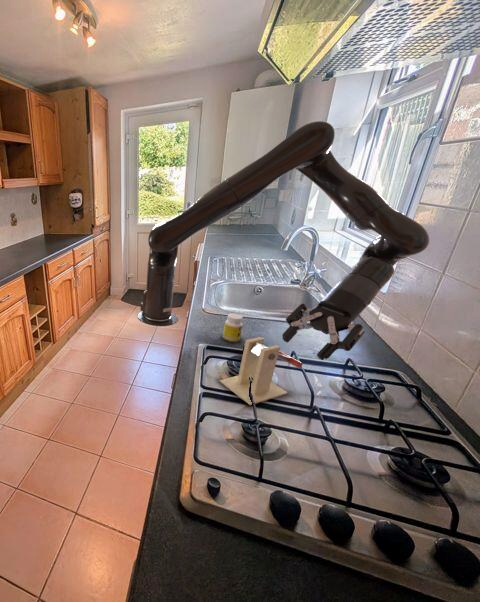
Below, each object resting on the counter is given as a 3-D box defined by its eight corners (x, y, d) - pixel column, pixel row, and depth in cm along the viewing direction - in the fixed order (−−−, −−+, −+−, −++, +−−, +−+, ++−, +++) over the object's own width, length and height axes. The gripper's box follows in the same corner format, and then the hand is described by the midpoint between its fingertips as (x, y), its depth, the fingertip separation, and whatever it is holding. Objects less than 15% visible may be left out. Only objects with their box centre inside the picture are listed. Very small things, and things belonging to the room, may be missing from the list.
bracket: (253, 374, 77) (264, 330, 72) (286, 396, 69) (300, 348, 64) (219, 384, 73) (227, 338, 69) (249, 408, 66) (261, 358, 61)
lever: (277, 358, 75) (282, 349, 74) (299, 370, 70) (304, 361, 69) (244, 348, 69) (249, 338, 69) (265, 360, 64) (271, 350, 64)
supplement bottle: (238, 346, 90) (243, 320, 87) (221, 342, 92) (225, 317, 89) (239, 339, 94) (244, 314, 91) (223, 335, 96) (227, 311, 93)
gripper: (313, 279, 75) (268, 328, 76) (381, 299, 63) (327, 356, 64) (322, 296, 79) (279, 342, 80) (388, 317, 67) (337, 372, 67)
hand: (301, 348), depth 72 cm, fingers open, 8 cm apart
